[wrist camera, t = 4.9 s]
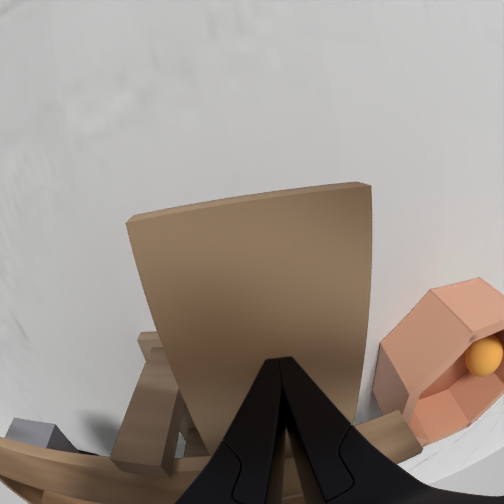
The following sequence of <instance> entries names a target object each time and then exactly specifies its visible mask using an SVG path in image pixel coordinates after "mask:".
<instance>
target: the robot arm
mask: <svg viewBox="0 0 504 504" xmlns="http://www.w3.org/2000/svg"><path fill="white" fill-rule="evenodd" d="M286 429H287V433H288V437H289V441H290V445H291V449H292V452H293V456H294V460H295V464H296V468H297V472H298V476H299V479H300V483H301V487H302V491H303V495H304V499H305V502H306V504H504V496H482V495H474V494H466V493H459V492H453V491H448V490H442V489H437V488H434V487H431V486H428V485H426V484H424V483H422V482H420V481H419V480H417V479H416V478H414V477H413V476H412V475H410V474H409V473H408V472H406V471H405V470H404V469H402V468H401V467H400V466H398V465H397V464H396V463H394V462H393V461H392V460H390V459H389V458H388V457H387V456H385V455H384V454H383V453H382V452H380V451H379V450H378V449H377V448H376V447H374V446H373V445H372V444H371V443H370V442H369V441H368V440H367V439H366V438H365V437H364V436H363V435H362V434H361V433H360V432H359V431H358V430H357V429H356V428H355V426H354V425H352V423H351V422H350V421H349V420H348V419H347V418H346V417H345V416H344V415H343V413H342V412H341V411H340V410H339V409H338V408H337V407H336V406H335V405H334V403H333V402H332V401H331V400H330V399H329V398H328V397H327V396H326V394H325V393H324V392H323V391H322V390H321V389H320V388H319V386H318V385H317V384H316V383H315V382H314V381H313V380H312V379H311V377H310V376H309V375H308V374H307V373H306V372H305V370H304V369H303V368H302V367H301V366H300V365H299V364H298V362H297V361H296V360H295V359H294V358H293V357H292V356H287V357H280V358H270V359H266V360H265V361H264V363H263V365H262V366H261V368H260V370H259V372H258V374H257V376H256V378H255V380H254V382H253V384H252V386H251V388H250V389H249V391H248V393H247V395H246V397H245V399H244V401H243V403H242V404H241V406H240V408H239V410H238V412H237V413H236V415H235V417H234V419H233V421H232V422H231V424H230V426H229V428H228V430H227V431H226V433H225V435H224V437H223V438H222V440H223V441H221V442H220V443H219V445H218V447H217V449H216V450H215V452H214V453H213V455H212V457H211V458H210V460H209V461H208V463H207V464H206V465H205V467H204V468H203V469H202V471H201V472H200V473H199V475H198V476H197V477H196V478H195V480H194V481H193V482H192V483H191V484H190V485H189V487H188V488H187V489H186V490H185V491H184V492H183V493H182V495H181V496H180V497H179V498H178V499H177V500H176V501H175V503H174V504H282V494H283V479H284V461H285V442H286ZM79 452H80V453H81V454H86V455H95V454H91V453H87V452H82V451H79ZM95 456H97V455H95Z"/></svg>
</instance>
